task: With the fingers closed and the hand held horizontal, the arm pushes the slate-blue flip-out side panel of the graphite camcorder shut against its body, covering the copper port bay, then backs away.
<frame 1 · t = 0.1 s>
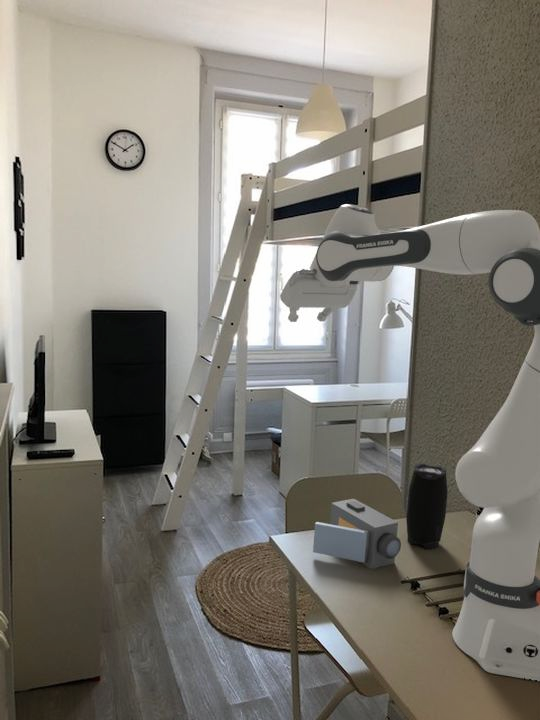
hand: (306, 320, 147), 54 cm above the table, tool tilted 30°, fingers open, 8 cm apart
side panel: (341, 542, 140), point 5 cm above the table, hinge at 40.0°
camcorder body: (360, 551, 147), on the table
portable speaker: (423, 543, 154), on the table
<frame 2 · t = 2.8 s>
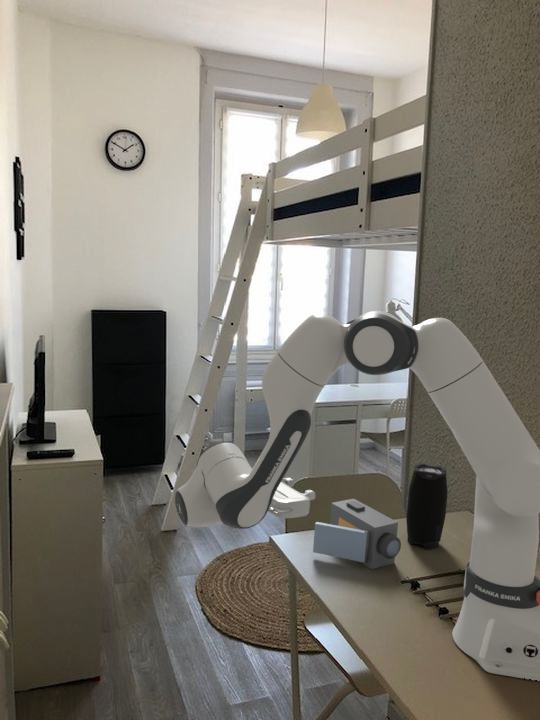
hand: (302, 488, 136), 18 cm above the table, tool horizontal, fingers open, 7 cm apart
nothing on the table moved.
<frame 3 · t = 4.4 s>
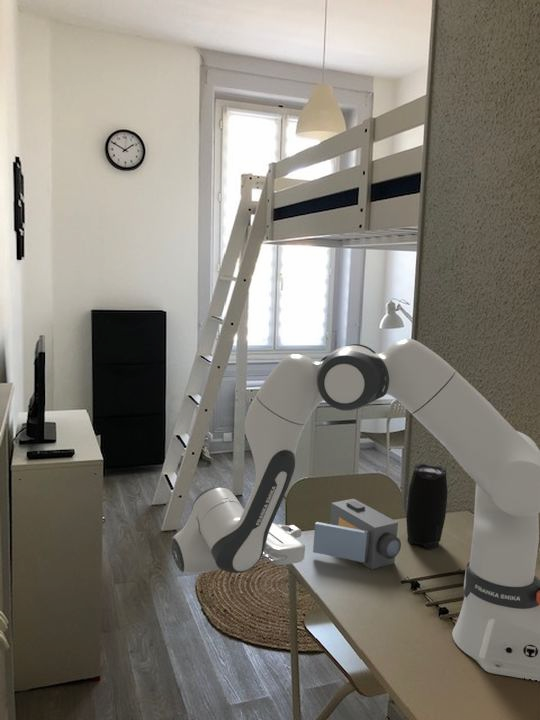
hand: (297, 530, 138), 8 cm above the table, tool horizontal, fingers closed
nothing on the table moved.
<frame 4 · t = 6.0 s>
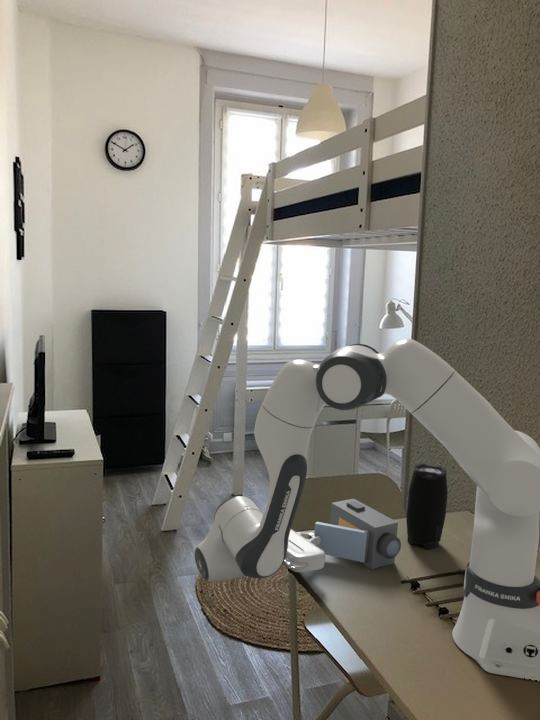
hand: (316, 537, 141), 5 cm above the table, tool horizontal, fingers closed
side panel: (341, 542, 140), point 5 cm above the table, hinge at 39.5°, touching gripper
everything else where it was.
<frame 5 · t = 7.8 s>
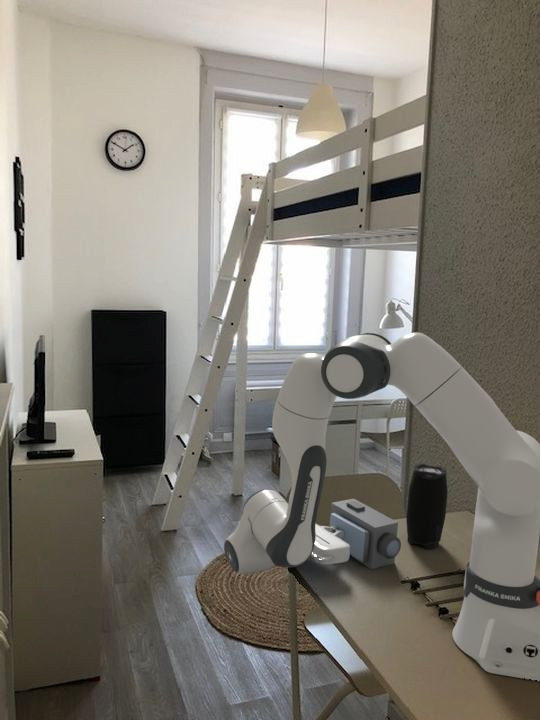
hand: (340, 531, 144), 5 cm above the table, tool horizontal, fingers closed
side panel: (349, 537, 143), point 5 cm above the table, hinge at 3.0°, touching gripper
everything else where it was.
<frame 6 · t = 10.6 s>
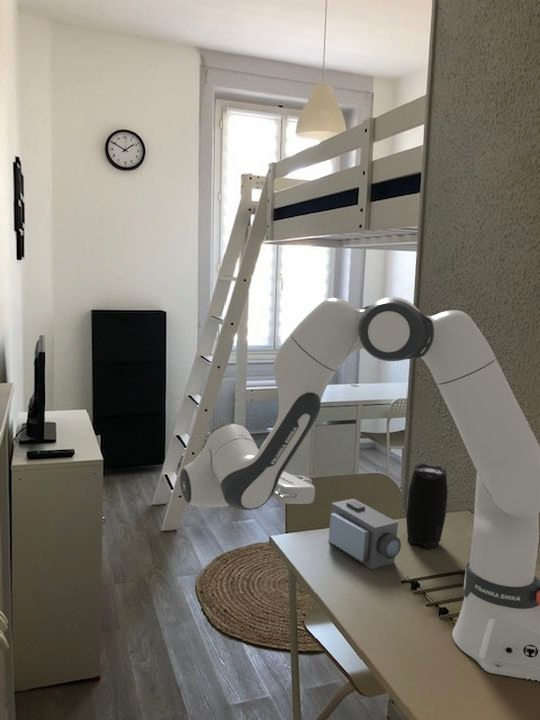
hand: (308, 481, 135), 20 cm above the table, tool horizontal, fingers closed
side panel: (349, 537, 143), point 5 cm above the table, hinge at 3.0°
everything else where it was.
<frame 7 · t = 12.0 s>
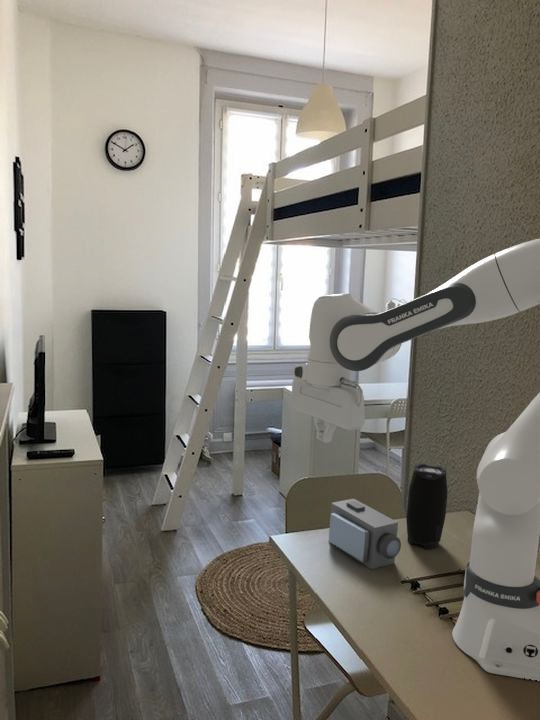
hand: (324, 440, 125), 32 cm above the table, tool pointing down, fingers closed
nothing on the table moved.
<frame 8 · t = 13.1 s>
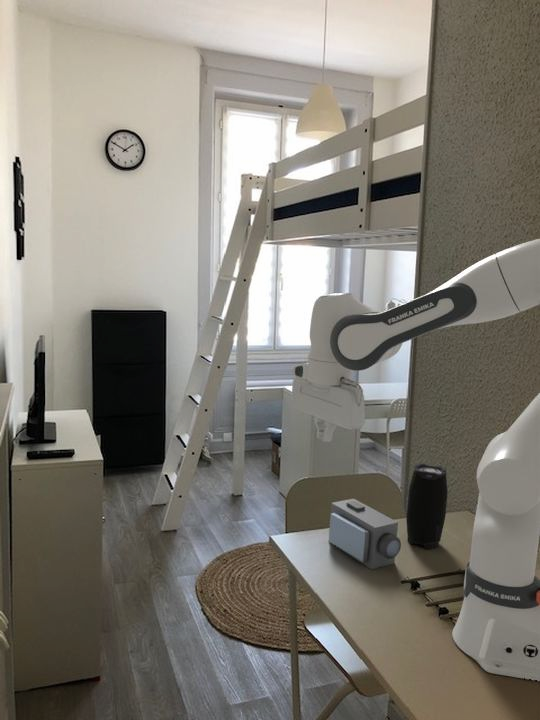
hand: (324, 440, 125), 32 cm above the table, tool pointing down, fingers closed
nothing on the table moved.
at the end: side panel at +3° (first picture: +40°) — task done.
